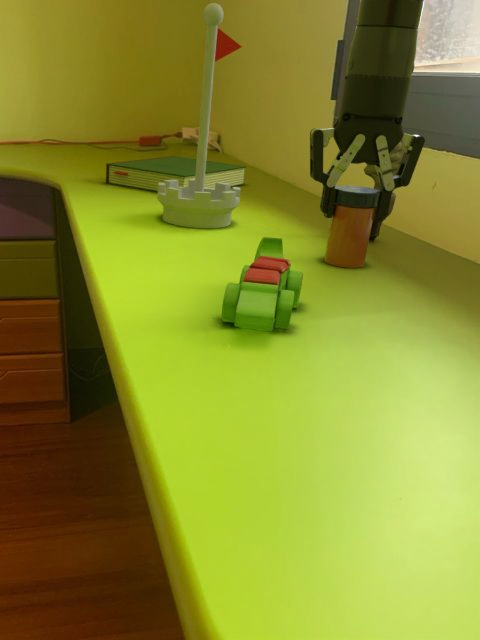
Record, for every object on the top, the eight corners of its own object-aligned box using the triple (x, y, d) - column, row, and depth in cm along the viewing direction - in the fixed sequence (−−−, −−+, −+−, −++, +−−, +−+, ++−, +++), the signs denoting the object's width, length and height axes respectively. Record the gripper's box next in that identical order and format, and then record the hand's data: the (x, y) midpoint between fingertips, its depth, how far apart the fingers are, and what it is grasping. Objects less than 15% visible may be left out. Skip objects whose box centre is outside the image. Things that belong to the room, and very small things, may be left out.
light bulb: (391, 246, 103) (414, 137, 95) (355, 244, 102) (375, 135, 95) (381, 237, 107) (402, 133, 100) (346, 235, 107) (365, 131, 100)
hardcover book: (172, 173, 158) (173, 155, 156) (244, 184, 148) (246, 166, 147) (103, 183, 139) (103, 163, 137) (181, 197, 130) (182, 176, 128)
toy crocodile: (281, 352, 61) (291, 285, 58) (208, 341, 63) (215, 275, 60) (303, 293, 78) (312, 239, 75) (245, 285, 80) (252, 231, 77)
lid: (371, 200, 91) (374, 187, 90) (384, 208, 86) (386, 194, 85) (327, 197, 91) (329, 184, 90) (337, 205, 86) (339, 191, 85)
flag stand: (177, 230, 103) (193, -4, 89) (143, 213, 114) (153, 0, 100) (252, 228, 108) (278, 5, 94) (213, 211, 119) (231, 9, 105)
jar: (358, 258, 94) (371, 191, 90) (368, 268, 90) (382, 198, 85) (320, 256, 94) (332, 188, 90) (328, 266, 90) (340, 195, 85)
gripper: (428, 76, 85) (398, 216, 93) (312, 68, 85) (292, 209, 92) (450, 77, 78) (416, 228, 86) (324, 68, 78) (301, 220, 86)
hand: (351, 217), depth 89 cm, fingers closed on lid, 5 cm apart
